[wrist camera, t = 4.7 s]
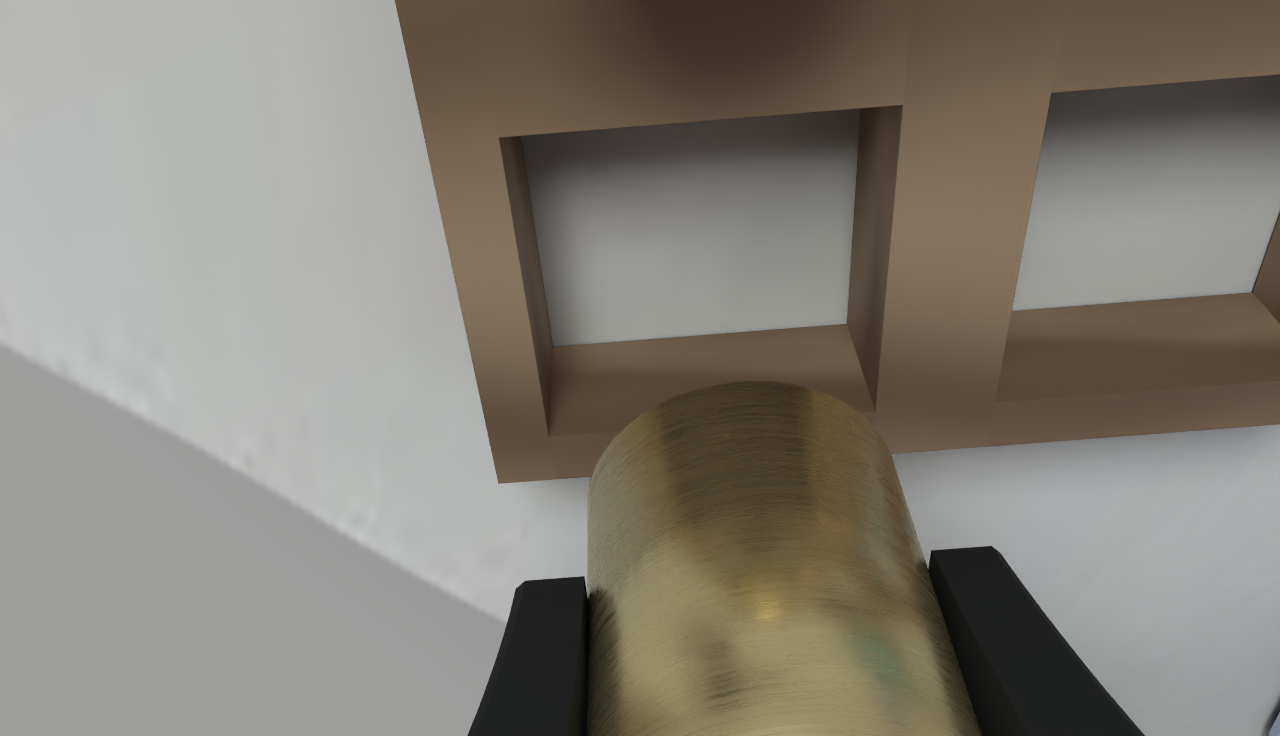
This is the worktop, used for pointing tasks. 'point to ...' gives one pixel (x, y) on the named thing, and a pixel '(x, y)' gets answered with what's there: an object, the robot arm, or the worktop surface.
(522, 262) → the wooden grid frame
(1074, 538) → the worktop surface
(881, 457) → the brass billet
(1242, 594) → the worktop surface
